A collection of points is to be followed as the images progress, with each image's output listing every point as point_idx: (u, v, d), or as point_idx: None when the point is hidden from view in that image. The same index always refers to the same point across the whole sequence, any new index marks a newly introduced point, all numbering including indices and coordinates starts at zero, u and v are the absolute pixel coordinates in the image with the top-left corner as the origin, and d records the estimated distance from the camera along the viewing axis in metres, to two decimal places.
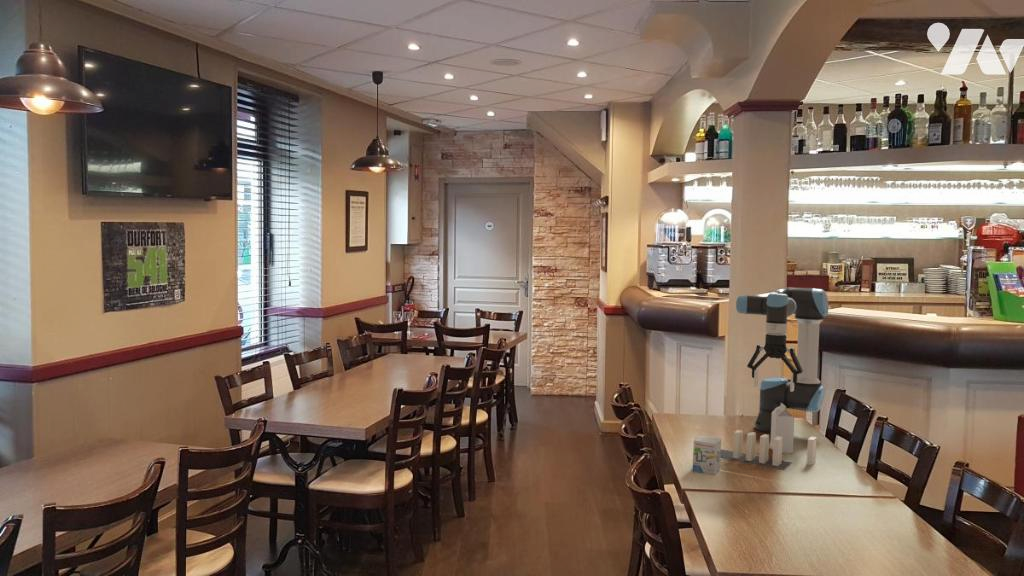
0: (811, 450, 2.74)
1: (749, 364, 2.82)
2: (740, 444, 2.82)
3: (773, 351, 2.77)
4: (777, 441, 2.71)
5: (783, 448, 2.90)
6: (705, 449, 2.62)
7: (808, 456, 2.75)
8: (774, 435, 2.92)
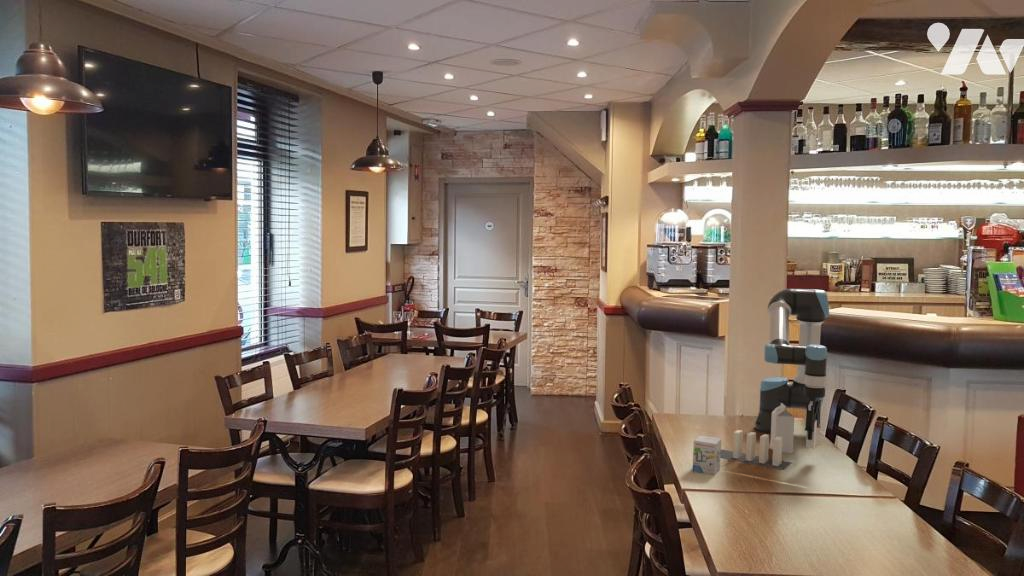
0: None
1: None
2: (740, 444, 2.82)
3: None
4: (777, 441, 2.71)
5: (783, 448, 2.90)
6: (705, 449, 2.62)
7: None
8: (774, 435, 2.92)
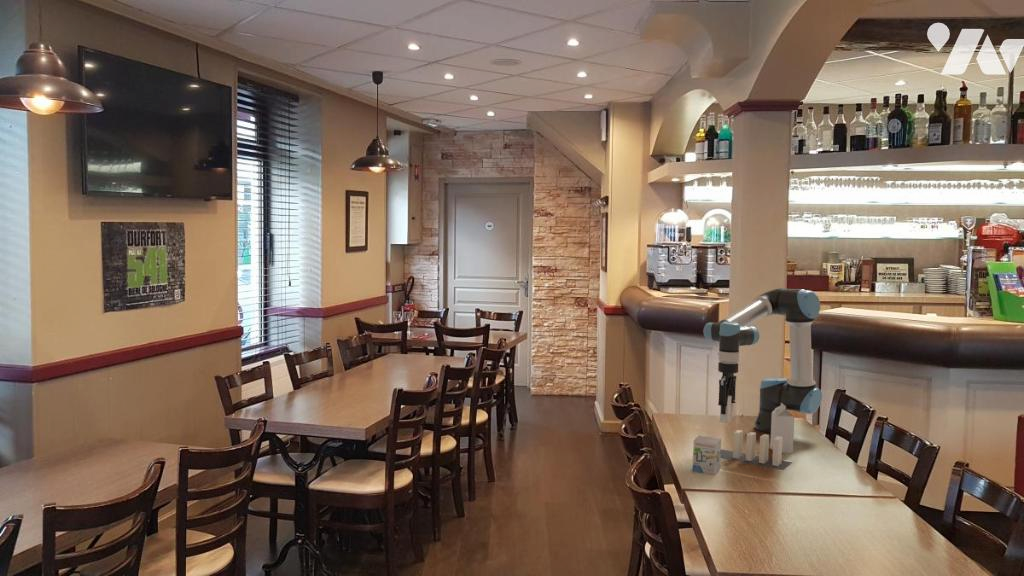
0: None
1: None
2: (740, 444, 2.82)
3: None
4: (777, 441, 2.71)
5: (783, 448, 2.90)
6: (705, 449, 2.62)
7: None
8: (774, 435, 2.92)
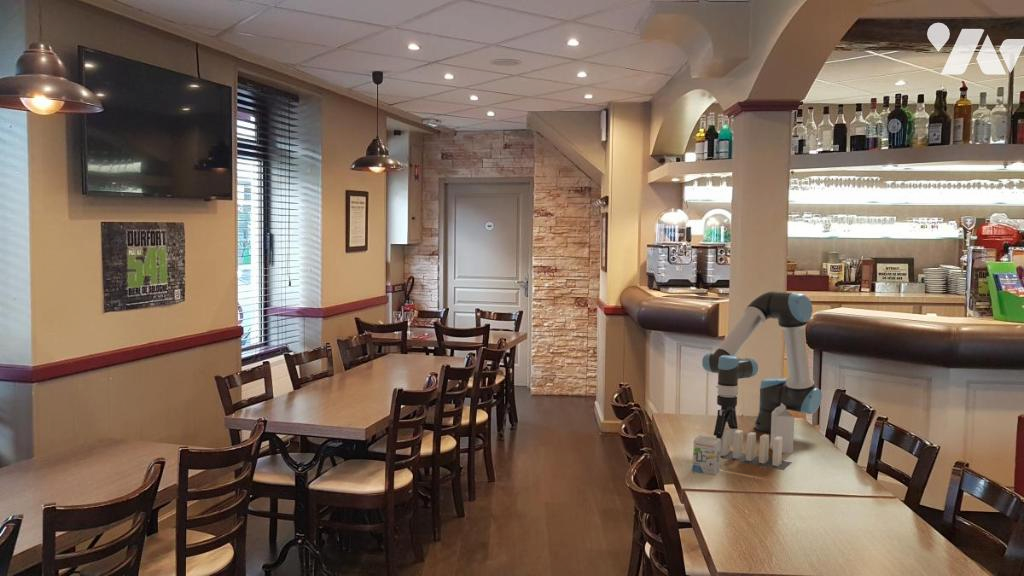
0: (724, 441, 2.83)
1: None
2: (740, 444, 2.82)
3: None
4: (777, 441, 2.71)
5: (783, 448, 2.90)
6: (705, 449, 2.62)
7: None
8: (774, 435, 2.92)
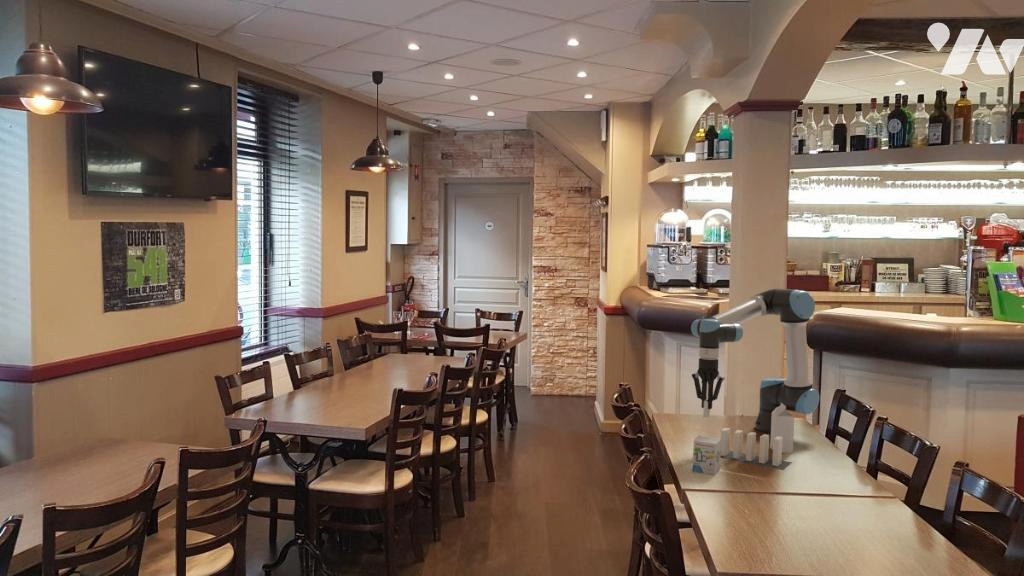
0: (724, 441, 2.83)
1: (698, 394, 2.90)
2: (740, 444, 2.82)
3: (706, 373, 2.88)
4: (777, 441, 2.71)
5: (783, 448, 2.90)
6: (705, 449, 2.62)
7: (721, 446, 2.84)
8: (774, 435, 2.92)
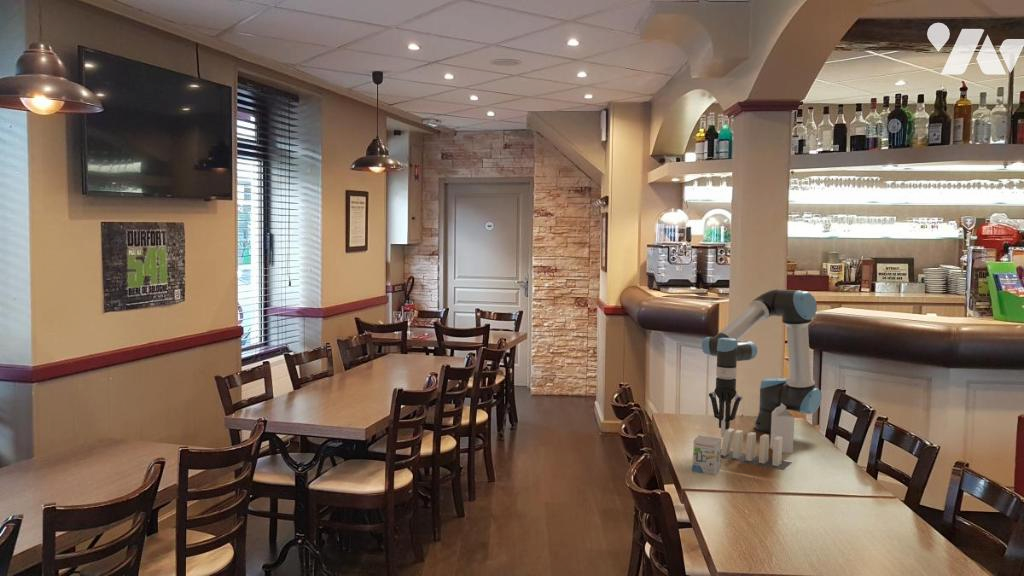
0: (726, 441, 2.83)
1: (715, 414, 2.86)
2: (740, 444, 2.82)
3: (723, 393, 2.84)
4: (777, 441, 2.71)
5: (783, 448, 2.90)
6: (705, 449, 2.62)
7: (723, 446, 2.84)
8: (774, 435, 2.92)
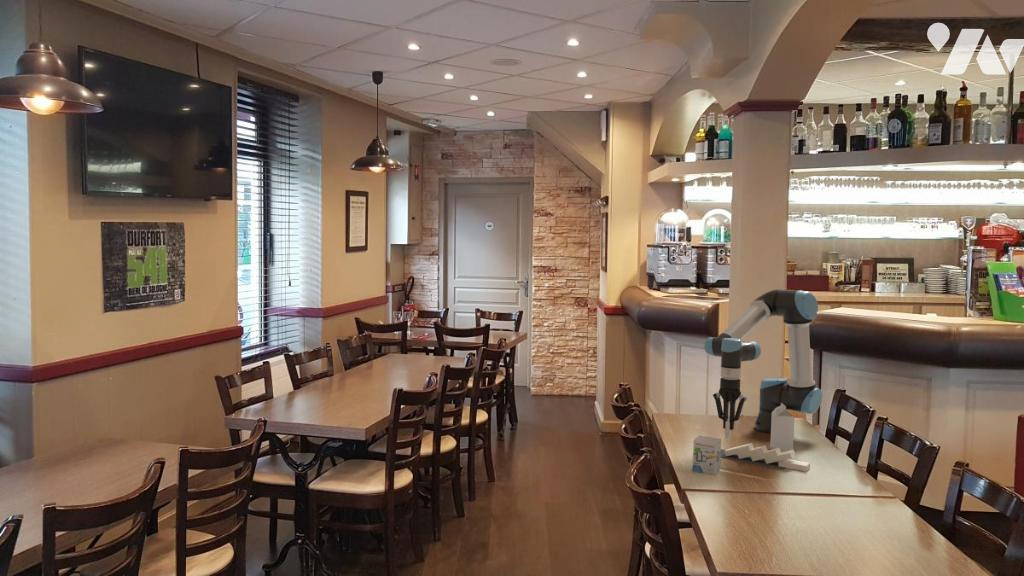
0: (739, 451, 2.80)
1: (719, 415, 2.85)
2: None
3: (727, 393, 2.83)
4: (804, 469, 2.66)
5: (783, 448, 2.90)
6: (705, 449, 2.62)
7: (732, 450, 2.82)
8: (774, 435, 2.92)
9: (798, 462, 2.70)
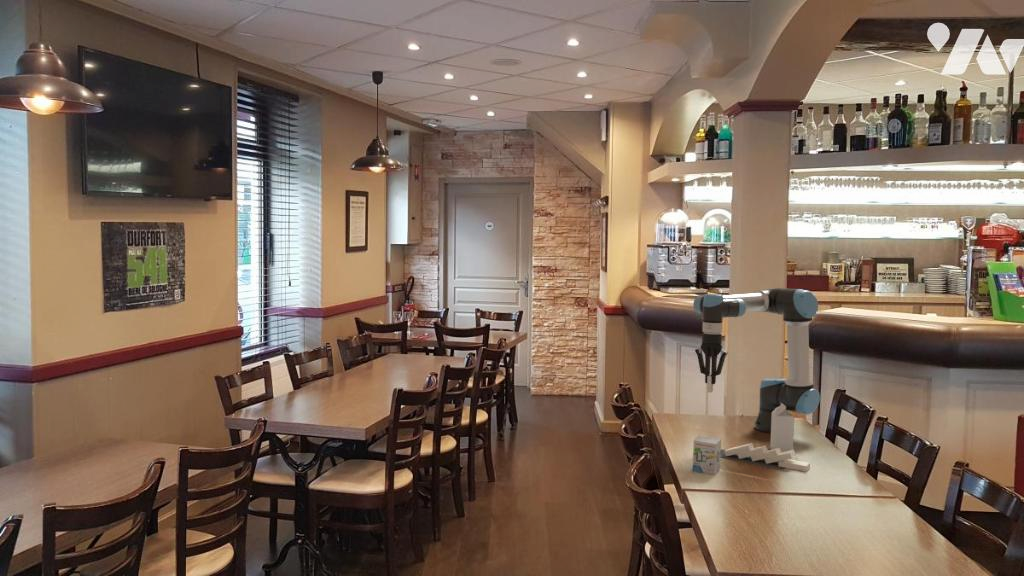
0: (739, 451, 2.80)
1: (701, 370, 2.89)
2: None
3: (709, 348, 2.87)
4: (804, 469, 2.66)
5: (783, 448, 2.90)
6: (705, 449, 2.62)
7: (732, 450, 2.82)
8: (774, 435, 2.92)
9: (798, 462, 2.70)
